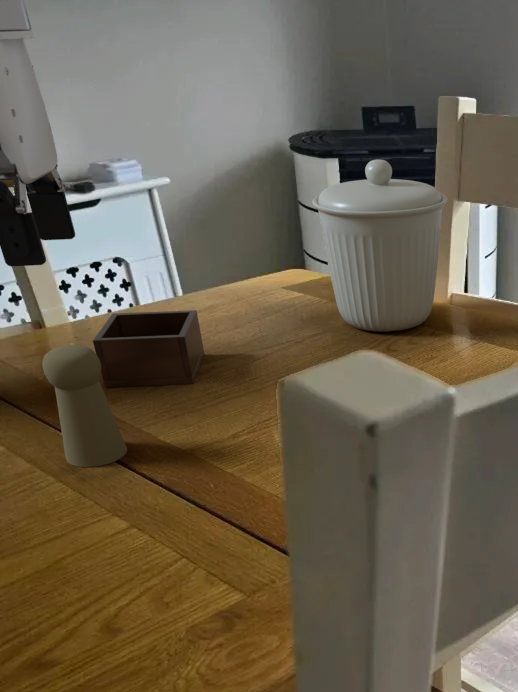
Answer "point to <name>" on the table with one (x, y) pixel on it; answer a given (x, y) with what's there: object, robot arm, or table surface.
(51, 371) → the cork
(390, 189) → the canister
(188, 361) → the box
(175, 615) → the table surface
